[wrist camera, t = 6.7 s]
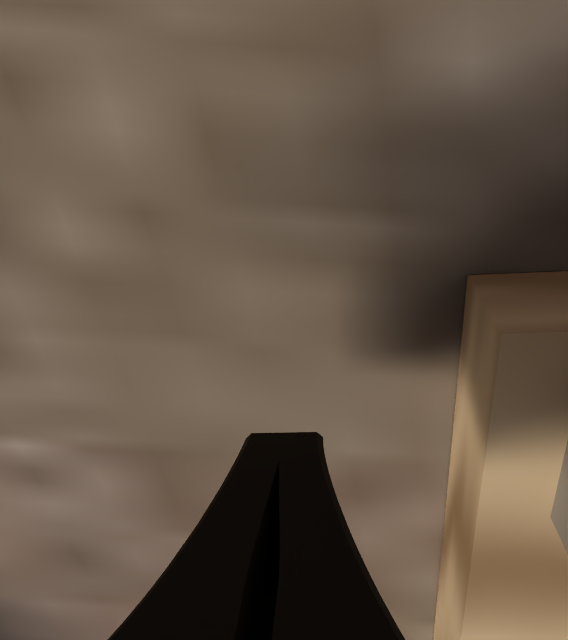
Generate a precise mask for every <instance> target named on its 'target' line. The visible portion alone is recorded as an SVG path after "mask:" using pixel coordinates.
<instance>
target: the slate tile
mask: <svg viewBox="0 0 568 640" xmlns="http://www.w3.org/2000/svg"><path fill="white" fill-rule="evenodd" d="M550 517H551V519H552V522H553V524H554V526H555V528H556V530H557V532H558V535H559V537H560V539H561V541H562V543H563V545H564V548H565V550H566V552H567V554H568V441H567V445H566V450H565V454H564V458H563V463H562V467H561V472H560V476H559V481H558V485H557V490H556V494H555V499H554V503H553V508H552V512H551V516H550Z"/></svg>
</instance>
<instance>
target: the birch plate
mask: <svg viewBox="0 0 568 640" xmlns="http://www.w3.org/2000/svg"><path fill="white" fill-rule="evenodd" d="M567 441H568V271H557V272H534V273H510V274H486V275H468V277H467V288H466V298H465V309H464V320H463V330H462V341H461V352H460V362H459V373H458V383H457V394H456V405H455V415H454V426H453V437H452V447H451V458H450V468H449V479H448V490H447V500H446V511H445V522H444V532H443V543H442V553H441V564H440V575H439V585H438V596H437V607H436V617H435V628H434V639H433V640H568V554H567V552H566V550H565V548H564V545H563V543H562V541H561V539H560V537H559V535H558V532H557V530H556V528H555V526H554V524H553V522H552V519H551V517H550V516H551V512H552V508H553V503H554V499H555V494H556V490H557V485H558V481H559V476H560V472H561V467H562V463H563V458H564V454H565V450H566V445H567Z"/></svg>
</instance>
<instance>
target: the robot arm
mask: <svg viewBox="0 0 568 640" xmlns="http://www.w3.org/2000/svg"><path fill="white" fill-rule="evenodd" d="M108 640H405V638H404V637H403V635H402V633H401V632H400V630H399V628H398V627H397V625H396V623H395V621H394V619H393V618H392V616H391V614H390V612H389V610H388V608H387V607H386V605H385V603H384V601H383V599H382V597H381V596H380V594H379V592H378V590H377V588H376V586H375V584H374V582H373V580H372V578H371V576H370V574H369V572H368V570H367V568H366V566H365V564H364V561H363V559H362V557H361V555H360V553H359V551H358V549H357V546H356V544H355V542H354V540H353V537H352V535H351V533H350V530H349V528H348V525H347V523H346V520H345V518H344V515H343V513H342V510H341V507H340V505H339V502H338V500H337V497H336V494H335V491H334V488H333V485H332V482H331V478H330V475H329V472H328V468H327V464H326V459H325V454H324V448H323V437H322V436H321V435H320V434H318V433H317V432H297V433H251V434H250V435H249V436H248V437H247V438H246V440H245V442H244V444H243V446H242V449H241V451H240V453H239V455H238V456H237V458H236V460H235V462H234V464H233V466H232V468H231V470H230V472H229V473H228V475H227V477H226V479H225V480H224V482H223V484H222V486H221V487H220V489H219V491H218V492H217V494H216V496H215V497H214V499H213V500H212V502H211V504H210V505H209V507H208V508H207V510H206V512H205V513H204V515H203V516H202V518H201V520H200V521H199V523H198V524H197V526H196V527H195V529H194V530H193V532H192V533H191V534H190V536H189V537H188V539H187V540H186V542H185V543H184V544H183V546H182V547H181V549H180V550H179V552H178V553H177V554H176V556H175V557H174V559H173V560H172V561H171V563H170V564H169V566H168V567H167V568H166V570H165V571H164V572H163V574H162V575H161V576H160V578H159V579H158V580H157V581H156V583H155V584H154V585H153V587H152V588H151V589H150V590H149V592H148V593H147V594H146V595H145V597H144V598H143V599H142V600H141V602H140V603H139V604H138V605H137V606H136V608H135V609H134V610H133V611H132V612H131V614H130V615H129V616H128V617H127V618H126V620H125V621H124V622H123V623H122V624H121V625H120V626H119V628H118V629H117V630H116V631H115V632H114V633H113V634H112V635H111V637H110V638H109V639H108Z"/></svg>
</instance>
